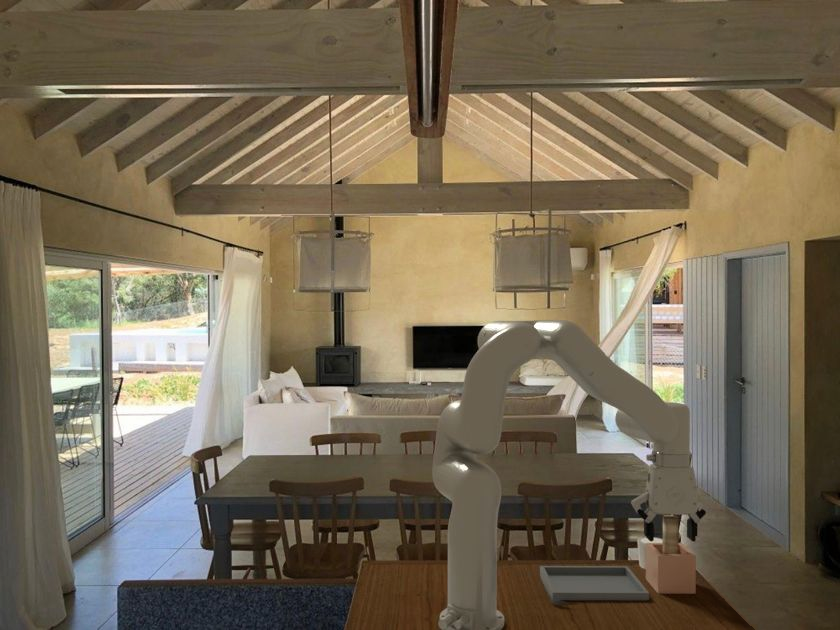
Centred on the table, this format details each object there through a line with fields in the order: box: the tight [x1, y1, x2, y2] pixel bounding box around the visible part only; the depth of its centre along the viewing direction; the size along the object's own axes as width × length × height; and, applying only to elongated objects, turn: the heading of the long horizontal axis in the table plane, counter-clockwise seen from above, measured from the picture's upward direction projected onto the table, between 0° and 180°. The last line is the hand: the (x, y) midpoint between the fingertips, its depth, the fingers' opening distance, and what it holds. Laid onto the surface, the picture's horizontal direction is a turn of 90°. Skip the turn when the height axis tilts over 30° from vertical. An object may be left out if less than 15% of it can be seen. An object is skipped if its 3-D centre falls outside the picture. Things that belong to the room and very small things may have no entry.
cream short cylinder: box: [637, 536, 663, 570], centre depth 165 cm, size 7×7×7 cm
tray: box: [539, 565, 650, 606], centre depth 153 cm, size 20×15×2 cm
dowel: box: [662, 515, 679, 554], centre depth 153 cm, size 3×3×15 cm
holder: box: [645, 542, 697, 595], centre depth 153 cm, size 8×8×9 cm
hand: (670, 539), depth 153 cm, fingers open, 8 cm apart
